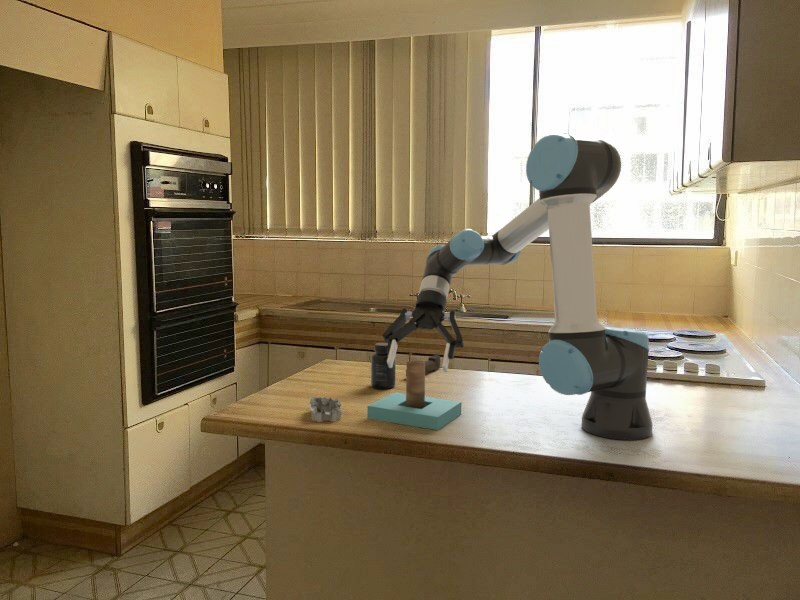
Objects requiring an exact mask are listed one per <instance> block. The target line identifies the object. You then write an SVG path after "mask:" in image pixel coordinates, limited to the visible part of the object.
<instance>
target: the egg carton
mask: <svg viewBox="0 0 800 600" xmlns="http://www.w3.org/2000/svg"><path fill="white" fill-rule="evenodd" d="M341 406H342V402H340V400H339V399H338V398H335V399H332V398H331V397H328V398H327V397H322V396H320V397H316V396H314V395H313V396H310V399H309V409H310V414H311V421H313V422H314V421H316V423H317V422H318V423H322V422H323V421H331V422H337V421H339V420H342V411H341ZM318 410H320V412H319V411H318Z"/></svg>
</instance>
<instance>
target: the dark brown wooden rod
mask: <svg viewBox="0 0 800 600" xmlns="http://www.w3.org/2000/svg"><path fill="white" fill-rule="evenodd" d="M424 362H425V375H427V374H428V373H430V372H437V371H438V370H440V368H441V356H440V355H439V354H435V355H431V356H429V357H428V360H426V361H424ZM406 372H407V369H406V370H405V373H406Z"/></svg>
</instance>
